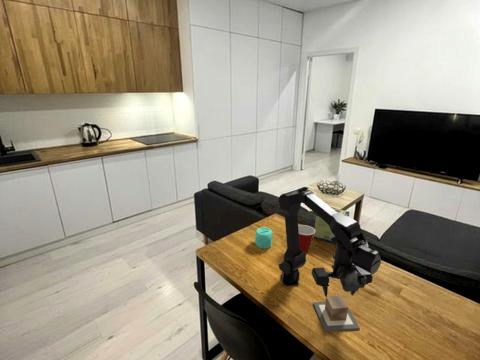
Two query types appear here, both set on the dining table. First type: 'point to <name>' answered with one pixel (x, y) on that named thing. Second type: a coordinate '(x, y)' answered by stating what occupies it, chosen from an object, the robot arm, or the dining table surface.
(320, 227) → the protein box
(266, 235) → the turquoise cylinder
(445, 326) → the dining table surface
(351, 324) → the coaster
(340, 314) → the cube
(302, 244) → the plastic cup
